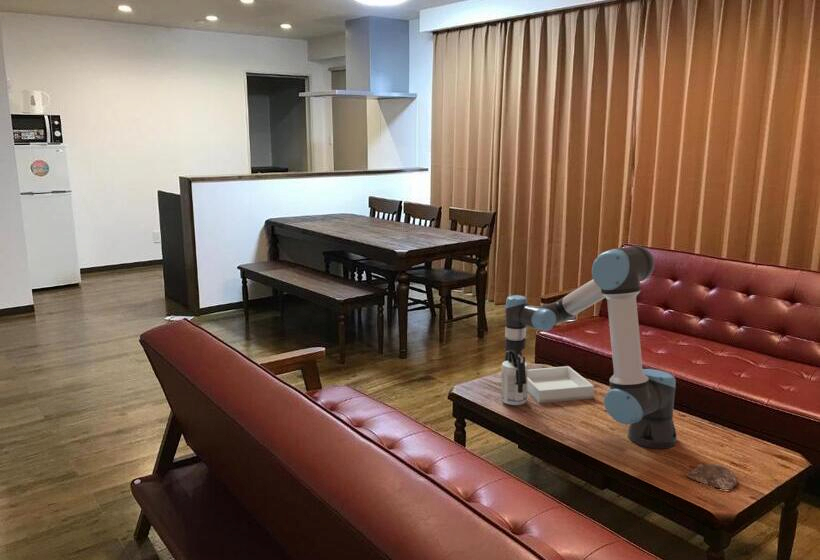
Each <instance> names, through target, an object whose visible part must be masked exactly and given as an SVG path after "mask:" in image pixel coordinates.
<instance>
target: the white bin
mask: <svg viewBox="0 0 820 560" xmlns="http://www.w3.org/2000/svg"><path fill="white" fill-rule="evenodd" d="M594 390H595V386H594V384H592V382H589V380H587V379H586V377H585V378H584V376H582V375H581V374H580V373H578V372H577V371H576V370H574V369H573V368H572V367H571V366H569V365H564V366H554V367H543V368H531V369H527V394H529V395H530V396H531V397H532V398H533V399H534V400H535V401H536V402H537V403H538V404H546V403H556V402H557V403H558V402H567V401H578V400H588V399H589V400H590V399H594V393H595V391H594Z"/></svg>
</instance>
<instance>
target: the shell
mask: <svg viewBox="0 0 820 560" xmlns="http://www.w3.org/2000/svg"><path fill="white" fill-rule="evenodd" d="M686 476H687V477H688V478H689V479H690V480H694V481H693V482H695V481H696V482H695V483H697V482H698V483H697V484H700V483H702V484H705V485H708V486H712V487H715V488H717V489H722V490H731V489H733V488H734V487H735V488H736V487H737V484H738V483H737V482H738V478H737V477H736V474H734V472H732V470H730V469H728V468H727V467H725V466H722V465H717V464H712V463H711V464H709V463H708V464H705V463H699V464H698V465H696V466H695V467H694V468H693V469H691V470H690V472H688V473H686ZM702 484H701V485H702ZM705 485H704V486H705ZM708 486H707V487H708ZM735 488H734V489H735ZM717 489H716V490H717ZM734 489H733V490H734ZM731 491H732V490H731Z"/></svg>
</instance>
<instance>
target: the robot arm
mask: <svg viewBox="0 0 820 560" xmlns="http://www.w3.org/2000/svg"><path fill="white" fill-rule="evenodd" d="M655 264H656V263H655V258H654V256H653V254H652V253H651V251H649V249H647V248H646V247H643V246H640V245H630V246H625V247H618V248H613V249H612V248H611V249H609V250H607V251H604V252H603V251H602V252H601V253H600V254H598V255H597V256H596V258H595V260H594V261H593V263H592V267H591V277H592V279H591V280H589V281H587V282H586V283H584V284H583V285H581V286H579V287H578V288H575V289H574V290H573V291H572V292H570V293H568V294H567V295H565V296H564V297H562V298H560V299H558V300H556V301H555V302H549V303H547V304H542V305H538V306H537V305H531V304H528V299H527V297H525V296H523V295H515V294H514V295H510V296H507V298H506V300H505V307H504V308H505V326H504V336H505V338H504V339H505V340H504V347H505V353H504V354H505V355H504V361H509V362H512V363H513V366H514V367H515V368H518V370H516V381H517V383H515V385H516V390H515V400H516V401H519V400H523V384H526V373H525V363H526V357H525V356H523V353H522V351H523V350H525V349H526V343H527V341H526V340H527V339H526V337H527V336H526V335H527V334H526V333H527V331H528V328H527V327H530V328H533V329H536V330H539V331H551V329H552V328H553V327H554V326H555V325H556V324H559V323H563V322H567V321H570V320H572V319H574V318H576V316H577V314H580V313H581V312H582V311H585V310H586V309H588V308H589V307H591V306H594V305H595V304H596V303H599V302H601V301H602V300H603V299H606V302H607V303H606V304H607V313H608V322H609V323H608V324H609V325H608V326H609V333H610V334H609V335H610V336H609V337H610V345H611V355H612V356H611V357H612V364H613V365H612V367H613V375H611V377H610V378H609V387H610V390H608V391H607V392H606V394H605V395H604V398H603V402H604V403H603V404H604V408H605V410H606V412H607V414H608V415H609V416H610V417H611V418H612V419H613V420H614V421H615V422H617V423H619V424H620V425H629V426H628V429H627V437H628V439H629V440H630V441H631V442H632V443H635V444H636V445H638V446H641V447H643V448H644V447H646V448H648V449H649V448H650V449H655V450H656V449H657V450H658V449H660V450H661V449H669V448H672V447H674V446H675V445H676V444H677V441H678V439H677V438H678V436H677V435H678V434H677V431H676V427H675V423H674V420H673V419H674V417H673V416H674V408H675V407H674V406H675V397H676V389H677V386H676V384H677V383H676V381H677V380H676V377H675V376H674V375H673V374H672V373H670V372H667V371H666V372H665V371H663V370H659V369H653V368H652V369H651V368H643V360H642V350H641V349H642V348H641V340H640V339H641V335H640V325H639V315H638V313H639V312H638V305H637V297H638V295H639V294H640V293H641V289H642V288H641V282H643V281H645V280H648V279H649V277H651V276H652V274H653V272H654V270H655Z"/></svg>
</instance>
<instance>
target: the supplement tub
mask: <svg viewBox="0 0 820 560" xmlns="http://www.w3.org/2000/svg"><path fill="white" fill-rule="evenodd" d="M516 370H518V368H515V367H514V366H513V363H512V362H509V361H505V360H504V361H503V362H502V363H501V390H500V391H501V401H502V402H503V403H504V404H506V405H509V406H510V405H511V406H520V405H524V404H525V403H526V402H527V401H528V392H527V370H528V363H527V362H525V373H526V384H523V400H519V401H516V400H515V390H516V385H515V383H517V381H516Z"/></svg>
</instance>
